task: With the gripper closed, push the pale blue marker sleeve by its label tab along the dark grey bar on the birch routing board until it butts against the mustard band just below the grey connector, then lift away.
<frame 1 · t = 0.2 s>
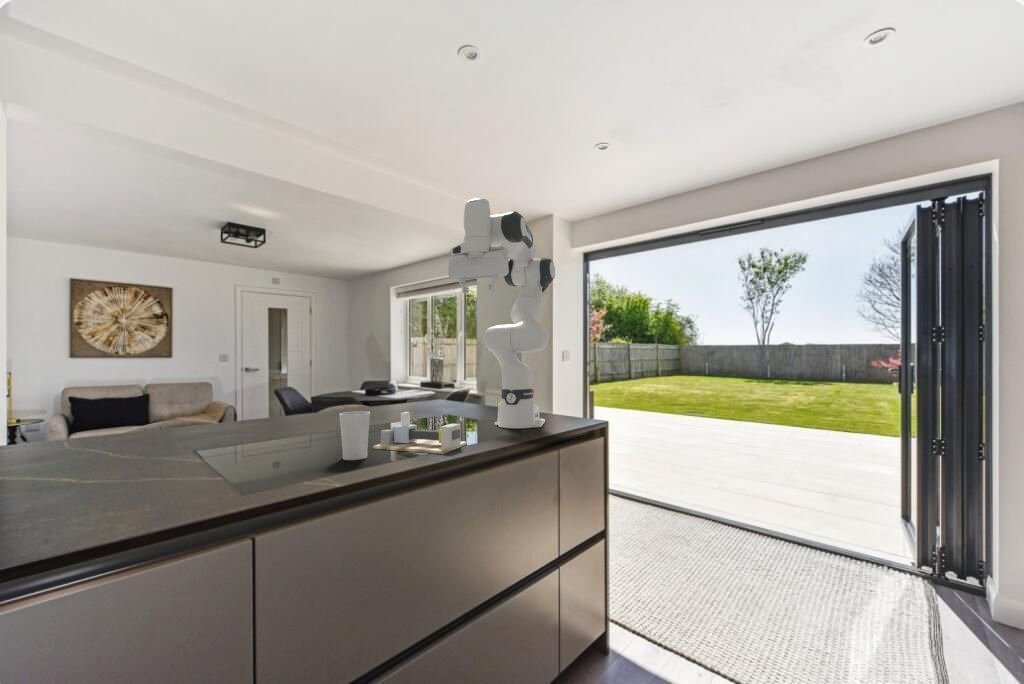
hand: (478, 291, 143), 48 cm above the counter, fingers open, 8 cm apart
connector: (451, 448, 130), resting on board
board: (420, 446, 134), on the counter
cup: (355, 458, 121), on the counter
dark grey bar: (419, 446, 134), resting on board
sleeve: (405, 426, 137), point 6 cm above the counter, slide at 0.0 cm
light grey block: (393, 444, 138), resting on board
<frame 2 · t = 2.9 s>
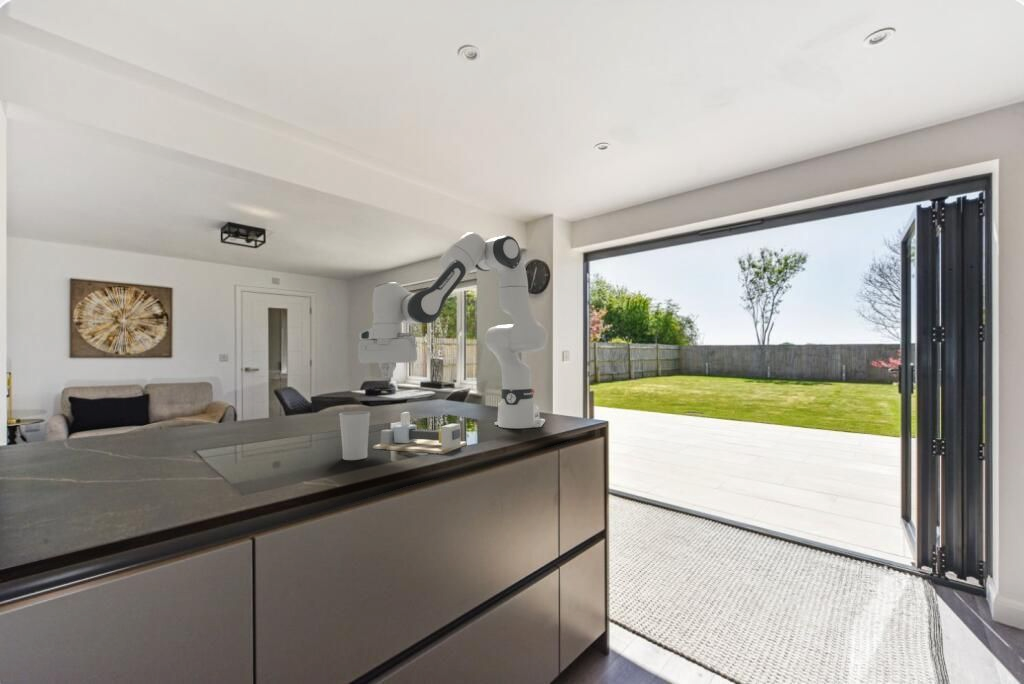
hand: (387, 377, 139), 21 cm above the counter, fingers closed
nothing on the counter moved.
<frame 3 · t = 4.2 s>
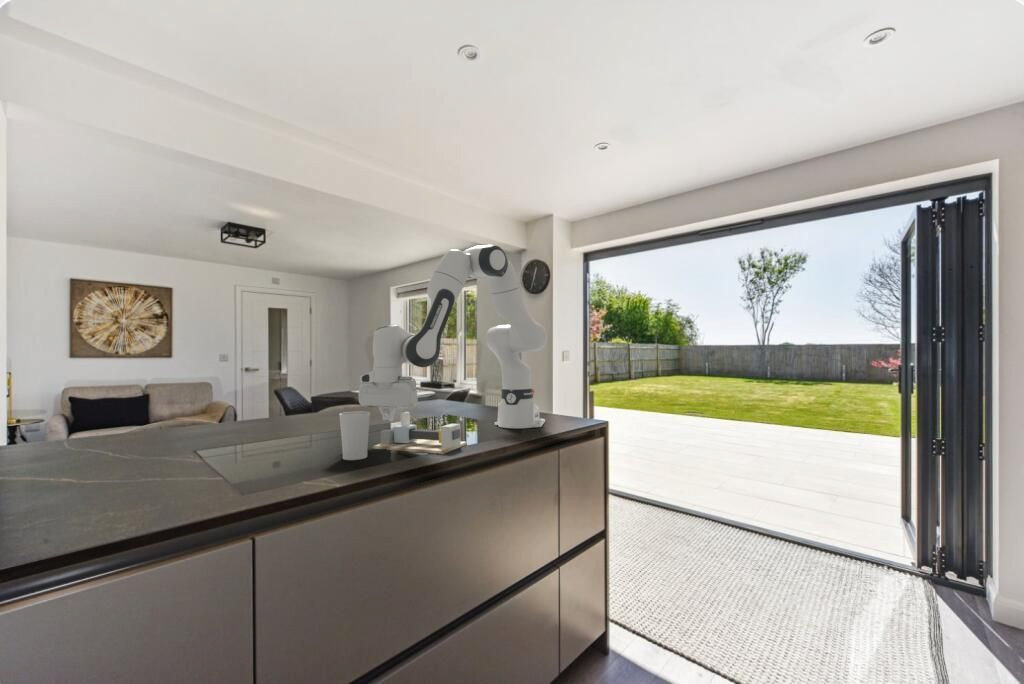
hand: (388, 420, 139), 7 cm above the counter, fingers closed
nothing on the counter moved.
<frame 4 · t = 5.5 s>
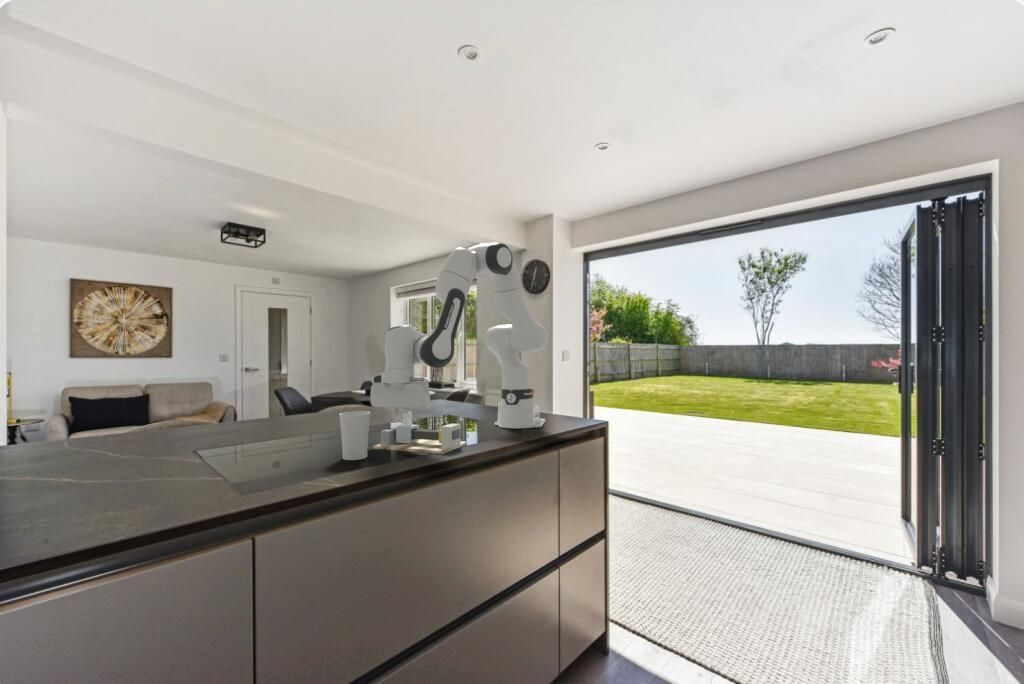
hand: (400, 422, 138), 7 cm above the counter, fingers closed
sleeve: (407, 427, 136), point 6 cm above the counter, slide at 0.8 cm, touching gripper
everything else where it was.
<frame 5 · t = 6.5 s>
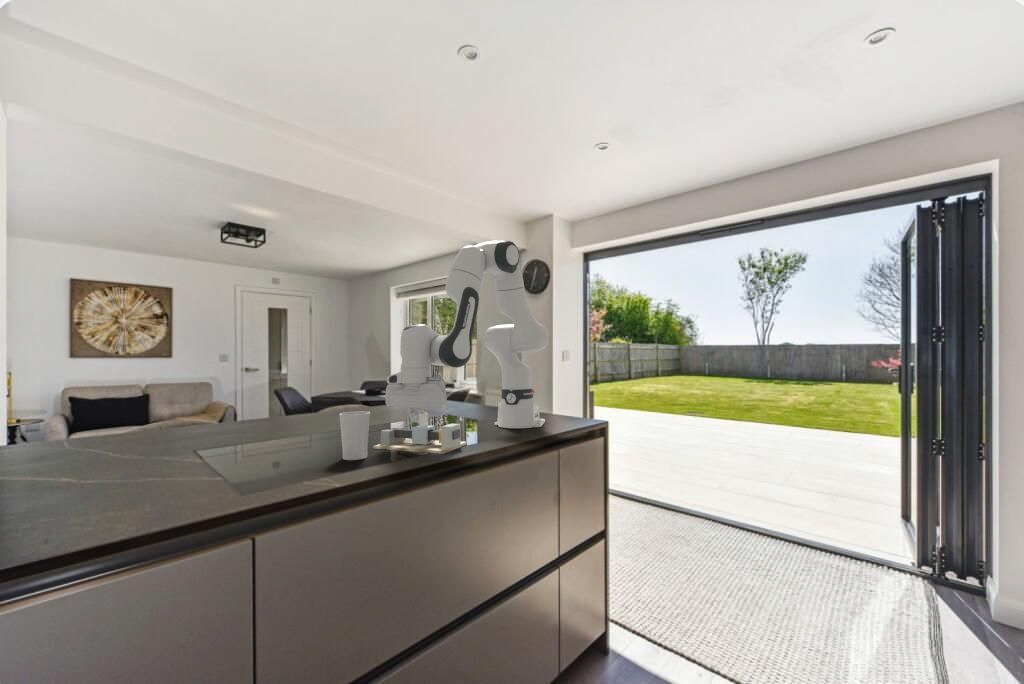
hand: (416, 422, 135), 7 cm above the counter, fingers closed
sleeve: (423, 427, 134), point 6 cm above the counter, slide at 6.6 cm, touching gripper
everything else where it was.
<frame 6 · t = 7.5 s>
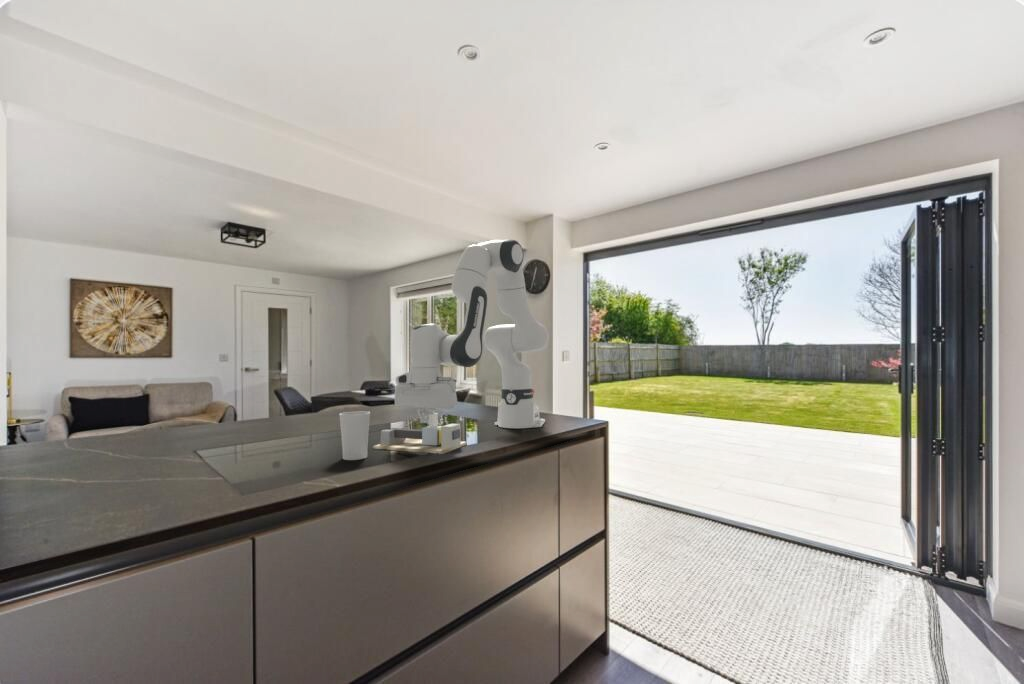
hand: (425, 423, 134), 7 cm above the counter, fingers closed
sleeve: (433, 428, 133), point 6 cm above the counter, slide at 10.1 cm, touching gripper
everything else where it was.
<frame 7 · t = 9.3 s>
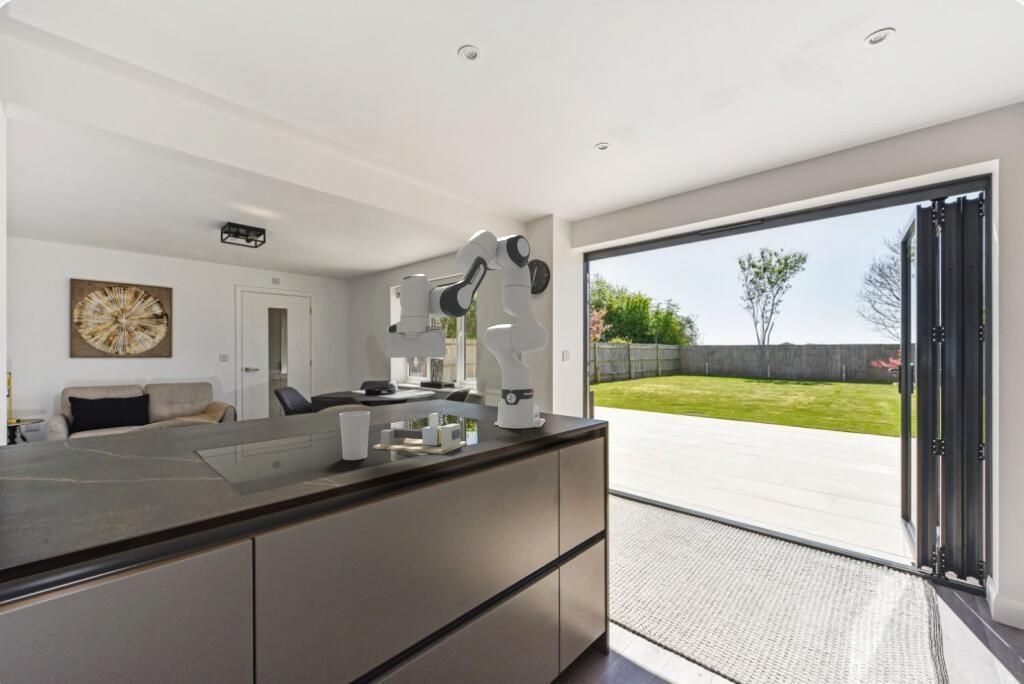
hand: (415, 372, 136), 22 cm above the counter, fingers closed
sleeve: (433, 428, 133), point 6 cm above the counter, slide at 10.2 cm
everything else where it was.
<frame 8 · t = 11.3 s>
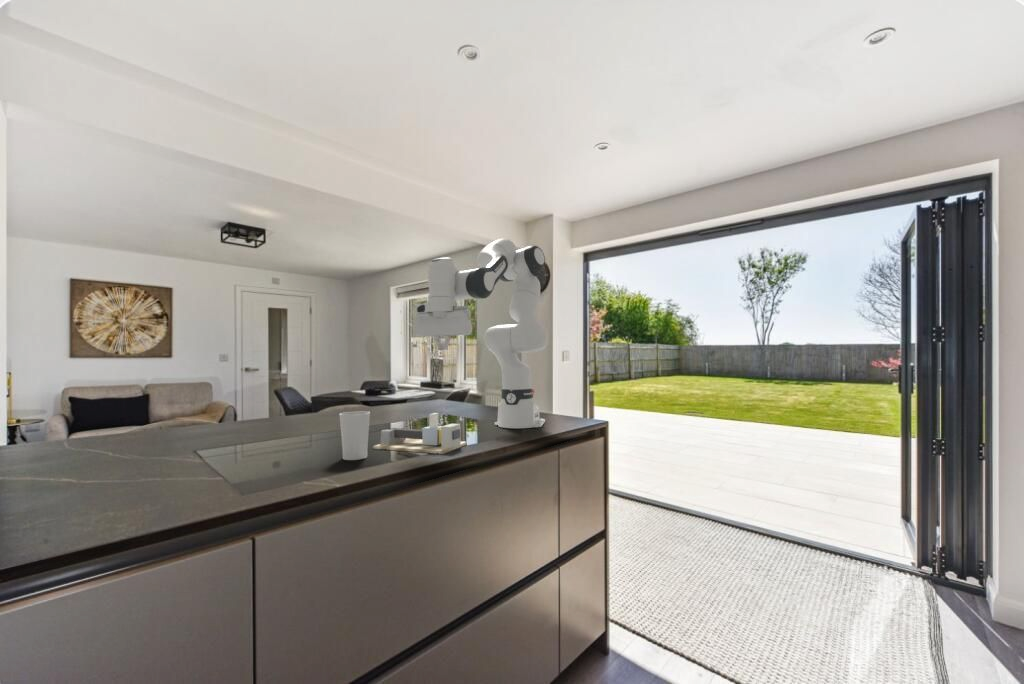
hand: (442, 350, 144), 29 cm above the counter, fingers closed
nothing on the counter moved.
at the end: sleeve slide at 10.2 cm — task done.
